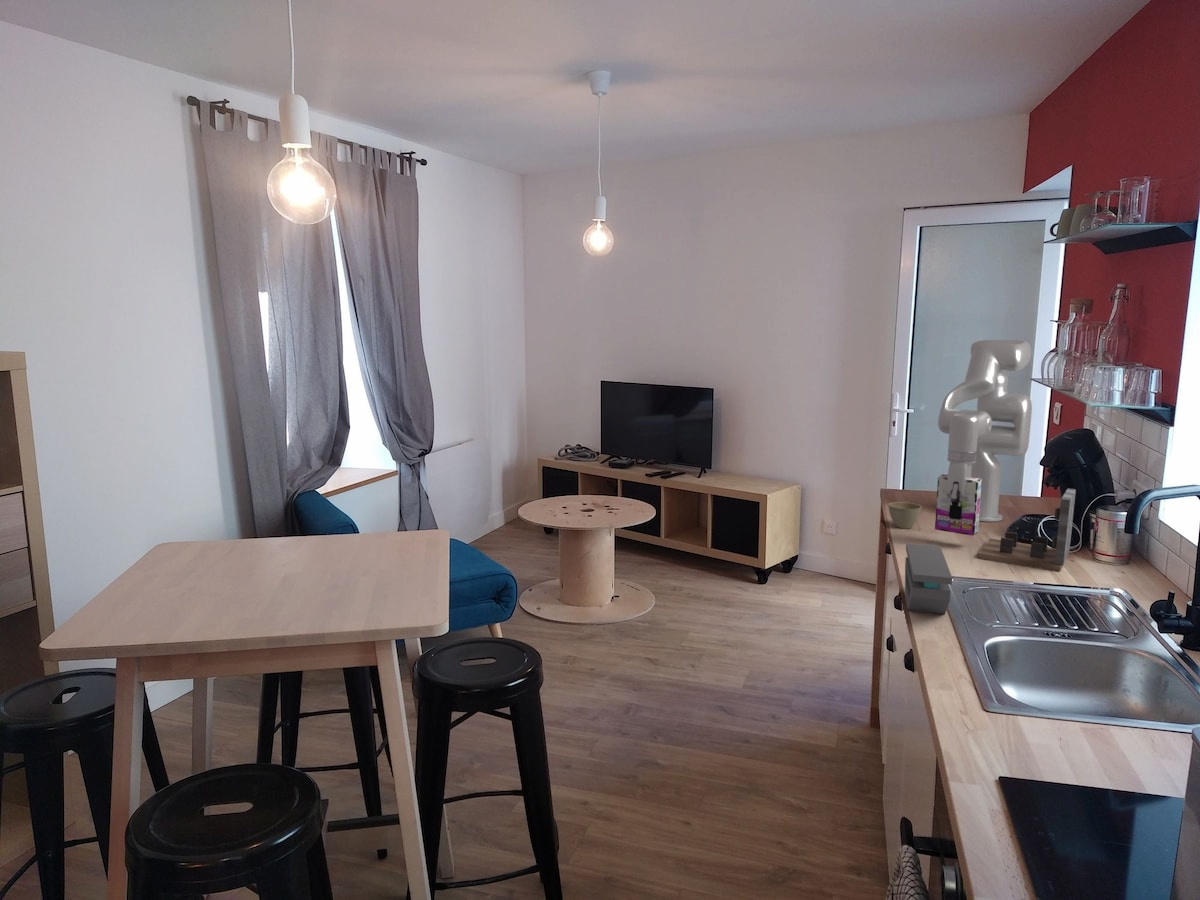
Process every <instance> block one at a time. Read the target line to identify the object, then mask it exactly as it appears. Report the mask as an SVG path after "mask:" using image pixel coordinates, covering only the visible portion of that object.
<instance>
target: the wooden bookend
mask: <svg viewBox="0 0 1200 900" xmlns="http://www.w3.org/2000/svg"><path fill="white" fill-rule="evenodd" d="M1076 494H1077V489H1075V488H1069V487H1068V488H1067V489H1066V490H1065V492H1064V494H1063V495H1062V497H1061V499H1060V506H1059V507H1055V509H1054V510H1055V511H1054V520H1056V521H1058V525H1057V526H1058V527H1057V535H1056V536H1052V539H1051V547H1050V546H1049V547H1048V540H1049V537H1048V536H1047V537H1046V536H1041V535H1040V536H1039V535H1035V537H1034V542H1033V541H1031V544H1030V543H1024V542H1023V543H1022V542H1018V537H1019V536H1018V534H1019V533H1018V532H1013V531H1005V533H1004V537H1000V539H995V538H989V539H988V540H987V541H986V543H985V544H984V545H983V546H982V547H981V548H980V550H979V551H978V552H977V559H981V560H988V561H994V562H997V563H998V562H1000V563H1005V564H1012V565H1017V566H1023V567H1029V568H1035V569H1040V570H1046V569H1047V571H1052V570H1055V571H1054V572H1058V571H1060V572H1061V570H1062V568H1063V566H1064V565H1065V562H1066V560H1067V558H1068V555H1069V554H1070V548H1071V540H1072V530H1073V523H1074V522H1073V520H1074V513H1075V512H1074V511H1075V501H1076Z"/></svg>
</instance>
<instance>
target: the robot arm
mask: <svg viewBox="0 0 1200 900" xmlns="http://www.w3.org/2000/svg"><path fill="white" fill-rule="evenodd" d="M1031 347H1032V346H1031V345H1030V343H1029V342H1028V341H1026V340H1017V339H1016V340H1010V339H1009V340H1008V339H1007V340H1005V339H1004V340H1003V339H983V340H978V341H975V342H973V343H972V344H971V346H970V359H969V363H968V367H967V371H966V375H965V378H964V381H963V382H961V383H959V384H958V385H956V386H955V387H954V388H953V389H951V391H949V392H948V393H947V394H946V396H945V397H944V398H943V401H942V404H941V408H940V411H939V415H938V420H937V426H938V429H939V431H941V432H942V433H944V434H947V435H948V443H947V444H948V447H947V458H946V460H947V462H949V465H948V470H947V471H948V472H947V475H948V477H947V486H946V494H947V495H949V494H950V493H951V490H952V494H951V501H950V511H949V518H951V519H958V520H960V519H961V514H962V506H961V501H962V496H964V495H965V491H966V485H967V480H968V479H969V478H970V477H972V478H980V479H982V484H981V498H980V513H979V522H986V523H987V522H993V523H994V522H1000V521H1002V520H1003V515H1002V514H1001V513H999V501H1000V493H1001V492H1000V491H1001V479H1002V472H1003V471H1002V465H1001V463H1000V461H999V459H998V458H997V457H996V456H997V455H998V456H999V455H1001V456H1012V457H1013V456H1014V457H1021V456H1024V455H1026V454H1027V452H1028V448H1029V443H1030V434H1031V425H1032V424H1031V422H1032V414H1033V413H1032V410H1033V409H1032V408H1033V407H1032V405H1033V404H1032V400H1031V398H1030V397H1029V395H1026V394H1024V393H1011V392H1010V393H1009V391H1008V386H1009V385H1008V384H1009V376H1008V374H1007V372H1019V371H1021V370H1023V369H1024V368H1025V367H1027V365H1028V364H1029V363H1030V360H1031V358H1032V348H1031ZM975 399H977V403H976V404H977V406H976V410H974V409H973V410H971V409H958V408H956V407H957V406H959V405H961V404H963V403H965V402H968V401H971V400H975ZM993 422H999V423H1000V422H1001V423H1011V424H1013V426H1005V425H998V424H997V425H994V424H993ZM995 455H996V456H995ZM960 492H961V493H960ZM957 493H959V494H960V496H959V495H957ZM957 498H959V500H958V499H957Z"/></svg>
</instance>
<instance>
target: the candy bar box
mask: <svg viewBox="0 0 1200 900" xmlns="http://www.w3.org/2000/svg"><path fill="white" fill-rule="evenodd" d="M947 477H948V474H944V473H942V474H941V475H939V476H938V477H937V489H936V490H937V491H936V504H935V521H934V522H935V523H934V530H935V531H942V532H947V533H954V534H960V535H967V536H972V537H973V536H975V535H976V534H978V533H979V526H980V521H979V513H980V498H981V484H982V479H980V478H972V477H970V478H969V479H968V480H967V485H966V491H965V495H964V496H962V501H961V506H962V514H961V519H960V520H958V519H951V518H949V511H950V501H951V494H952V490H951V493H950V494H949V495H947V494H946V486H947ZM960 493H961V492H960ZM957 495H959V496H960V494H959V493H957ZM957 499H958V500H959V498H957Z"/></svg>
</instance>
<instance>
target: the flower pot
mask: <svg viewBox="0 0 1200 900" xmlns="http://www.w3.org/2000/svg"><path fill="white" fill-rule="evenodd" d="M922 508H923V506H922V505H920V504H917V503H913V502H903V501H898V502H897V501H895V502H889V503H888V510H889V514H890V515H889V516H890V518H891V520H892V522H893V524H894V526H895V527H896V526H897V527H896V528H898V527H900V528H899V529H903V528H910V529H912V528H914V526H915V525H916V523H917V522H918V520H919V518H920V515H921V512H922Z"/></svg>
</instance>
